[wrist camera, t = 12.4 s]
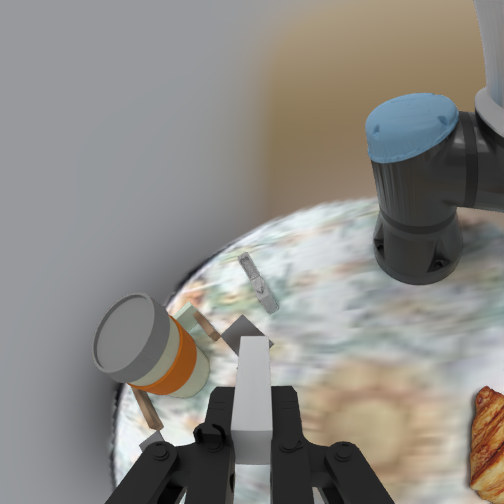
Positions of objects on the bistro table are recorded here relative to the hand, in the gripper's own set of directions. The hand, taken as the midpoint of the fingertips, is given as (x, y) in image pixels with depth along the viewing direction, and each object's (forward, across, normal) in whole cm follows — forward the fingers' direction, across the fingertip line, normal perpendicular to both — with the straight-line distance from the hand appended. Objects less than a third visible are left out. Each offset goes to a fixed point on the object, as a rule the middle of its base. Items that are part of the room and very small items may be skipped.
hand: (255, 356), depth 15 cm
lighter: (+29, +1, -10) cm, 31 cm away
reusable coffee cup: (+22, -12, -20) cm, 32 cm away
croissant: (-6, +28, -18) cm, 33 cm away
